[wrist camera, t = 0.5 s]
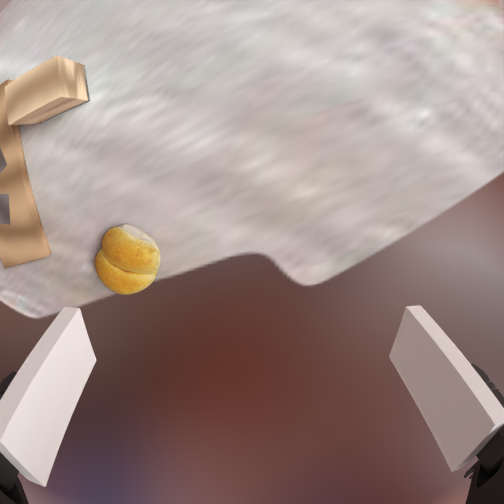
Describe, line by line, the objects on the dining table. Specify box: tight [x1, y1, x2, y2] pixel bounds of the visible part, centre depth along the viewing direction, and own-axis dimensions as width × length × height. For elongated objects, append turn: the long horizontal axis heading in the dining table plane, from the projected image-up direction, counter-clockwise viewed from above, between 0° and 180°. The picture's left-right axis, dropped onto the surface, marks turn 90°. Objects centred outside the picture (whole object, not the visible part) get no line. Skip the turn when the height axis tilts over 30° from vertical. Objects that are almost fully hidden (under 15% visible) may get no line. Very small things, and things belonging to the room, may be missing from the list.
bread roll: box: [95, 224, 160, 294], centre depth 35 cm, size 8×9×4 cm
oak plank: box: [0, 80, 51, 268], centre depth 30 cm, size 26×10×2 cm, turn 10°
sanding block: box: [5, 56, 90, 125], centre depth 25 cm, size 5×8×7 cm, turn 100°
